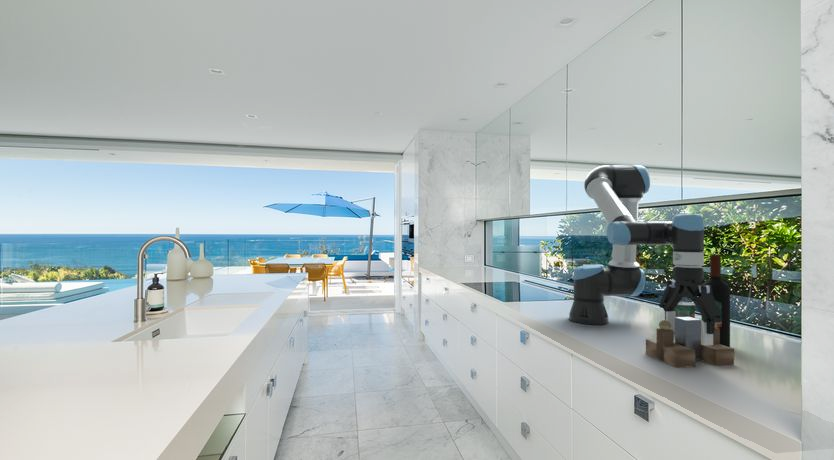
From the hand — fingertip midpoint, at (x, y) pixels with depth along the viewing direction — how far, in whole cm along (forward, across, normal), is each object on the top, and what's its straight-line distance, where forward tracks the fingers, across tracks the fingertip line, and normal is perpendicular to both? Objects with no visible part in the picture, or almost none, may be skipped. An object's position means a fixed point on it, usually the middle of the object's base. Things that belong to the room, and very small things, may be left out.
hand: (688, 338), depth 115 cm
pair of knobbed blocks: (+6, 0, 0) cm, 6 cm away
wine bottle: (+6, -11, +20) cm, 24 cm away
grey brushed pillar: (+6, 0, 0) cm, 6 cm away
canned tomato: (+6, -27, +22) cm, 35 cm away
